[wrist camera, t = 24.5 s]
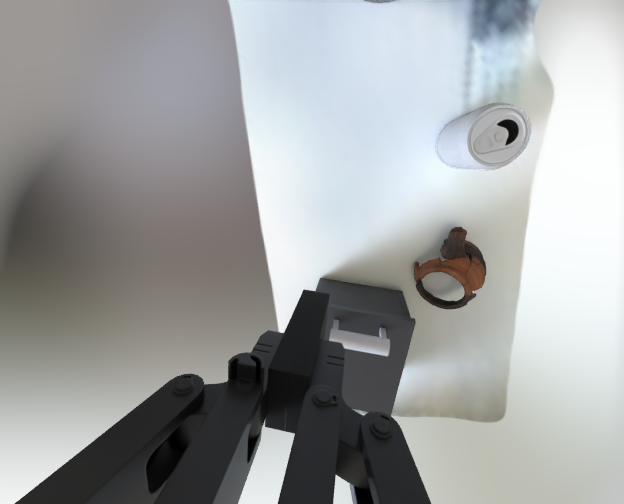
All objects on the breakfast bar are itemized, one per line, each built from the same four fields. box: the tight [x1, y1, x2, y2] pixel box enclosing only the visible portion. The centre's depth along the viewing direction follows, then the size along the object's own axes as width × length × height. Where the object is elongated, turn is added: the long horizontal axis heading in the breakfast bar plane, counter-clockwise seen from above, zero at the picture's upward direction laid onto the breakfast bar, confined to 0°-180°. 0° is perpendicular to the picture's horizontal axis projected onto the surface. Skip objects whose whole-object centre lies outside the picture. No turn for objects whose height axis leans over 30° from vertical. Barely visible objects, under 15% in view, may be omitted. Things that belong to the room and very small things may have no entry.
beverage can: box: [436, 103, 531, 170], centre depth 34 cm, size 6×6×12 cm
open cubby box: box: [316, 278, 411, 318], centre depth 46 cm, size 16×14×9 cm
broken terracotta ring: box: [414, 227, 486, 309], centre depth 42 cm, size 12×10×8 cm
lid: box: [324, 304, 415, 416], centre depth 38 cm, size 16×14×5 cm
